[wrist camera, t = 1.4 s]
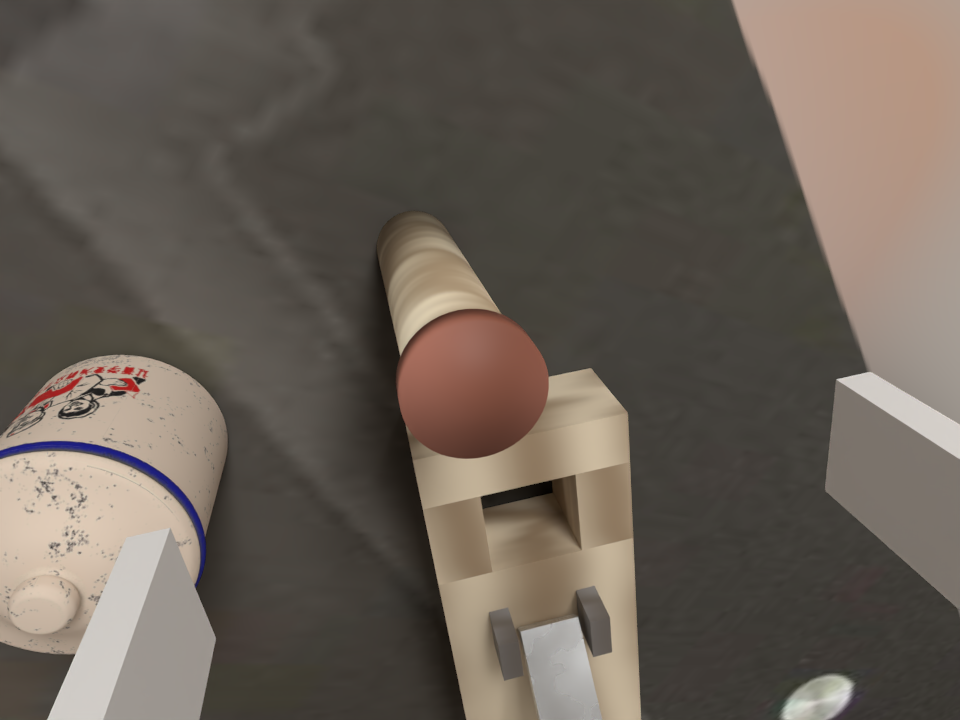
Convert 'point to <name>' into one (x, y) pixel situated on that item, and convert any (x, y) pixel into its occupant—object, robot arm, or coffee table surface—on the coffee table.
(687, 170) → the coffee table surface
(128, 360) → the teacup with lid
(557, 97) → the coffee table surface
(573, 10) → the coffee table surface
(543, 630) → the lever
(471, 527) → the block
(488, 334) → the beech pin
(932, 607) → the coffee table surface
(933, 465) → the robot arm
